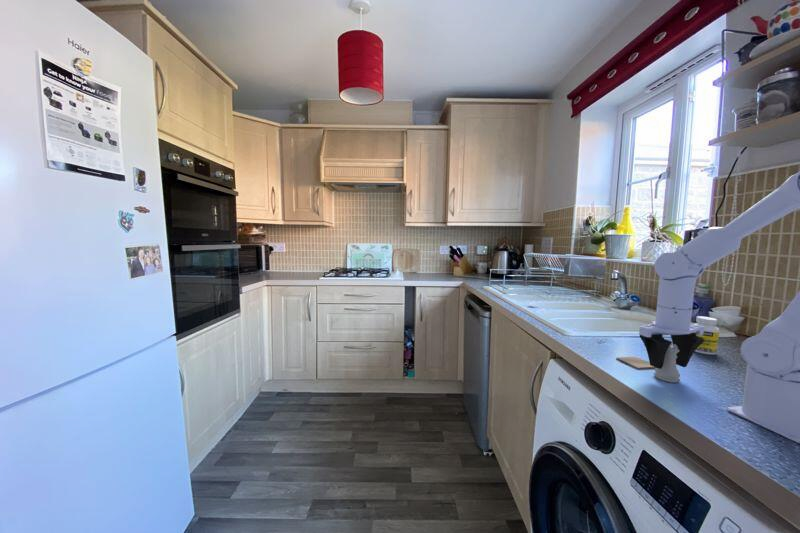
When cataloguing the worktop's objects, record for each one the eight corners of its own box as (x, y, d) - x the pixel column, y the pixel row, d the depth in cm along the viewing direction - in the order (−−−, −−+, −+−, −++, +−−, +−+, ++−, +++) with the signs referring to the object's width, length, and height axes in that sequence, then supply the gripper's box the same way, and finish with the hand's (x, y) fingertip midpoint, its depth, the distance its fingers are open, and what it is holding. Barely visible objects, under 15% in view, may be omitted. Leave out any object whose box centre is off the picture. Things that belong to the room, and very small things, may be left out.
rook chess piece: (685, 384, 63) (689, 349, 62) (661, 382, 64) (665, 347, 63) (670, 375, 68) (674, 342, 67) (648, 373, 69) (652, 340, 68)
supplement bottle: (698, 354, 81) (702, 319, 80) (684, 347, 86) (687, 314, 85) (722, 356, 80) (726, 321, 79) (706, 349, 85) (710, 316, 84)
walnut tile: (659, 368, 71) (659, 366, 71) (637, 370, 71) (638, 367, 70) (635, 358, 77) (636, 356, 77) (616, 359, 76) (616, 357, 76)
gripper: (681, 302, 69) (676, 357, 71) (628, 303, 67) (623, 360, 68) (718, 309, 62) (710, 370, 64) (660, 311, 60) (653, 373, 62)
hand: (667, 366), depth 66 cm, fingers open, 6 cm apart
